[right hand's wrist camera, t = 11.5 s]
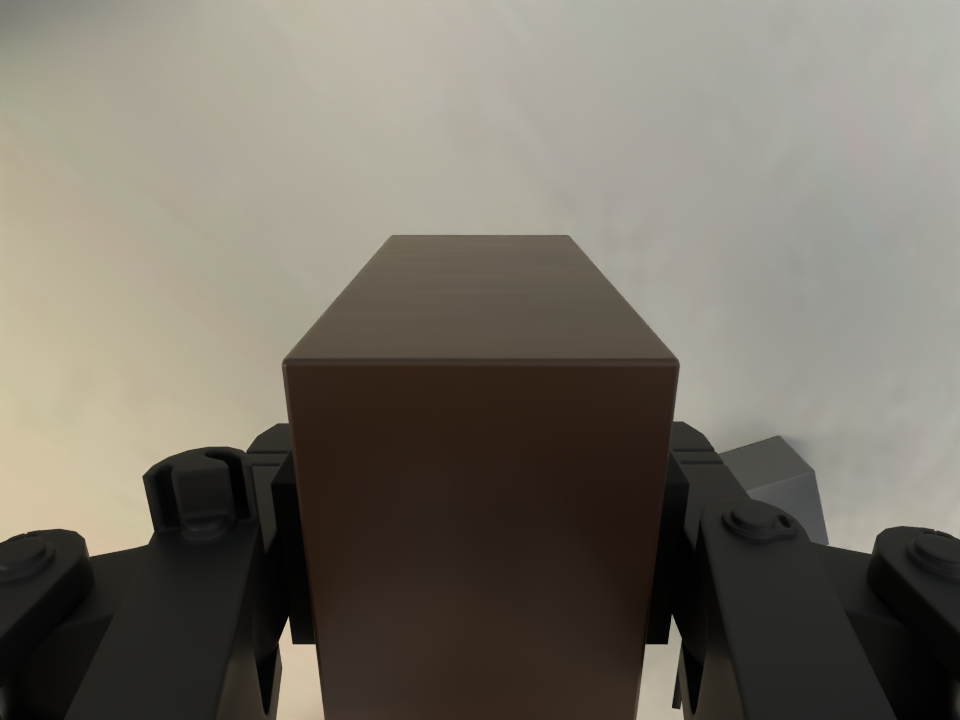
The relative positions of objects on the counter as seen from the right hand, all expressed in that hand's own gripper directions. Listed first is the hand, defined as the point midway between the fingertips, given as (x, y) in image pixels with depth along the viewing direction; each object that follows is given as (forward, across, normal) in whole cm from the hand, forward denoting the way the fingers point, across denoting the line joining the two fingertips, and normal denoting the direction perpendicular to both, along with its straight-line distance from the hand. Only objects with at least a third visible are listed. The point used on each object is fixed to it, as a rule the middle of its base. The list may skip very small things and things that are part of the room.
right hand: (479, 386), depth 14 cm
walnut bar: (0, 0, -8) cm, 9 cm away
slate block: (+19, +16, -14) cm, 28 cm away
